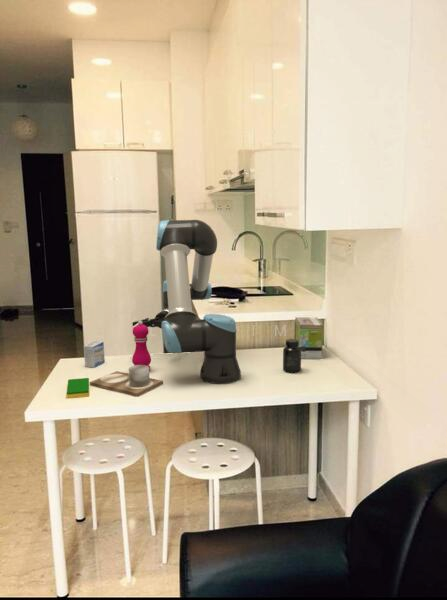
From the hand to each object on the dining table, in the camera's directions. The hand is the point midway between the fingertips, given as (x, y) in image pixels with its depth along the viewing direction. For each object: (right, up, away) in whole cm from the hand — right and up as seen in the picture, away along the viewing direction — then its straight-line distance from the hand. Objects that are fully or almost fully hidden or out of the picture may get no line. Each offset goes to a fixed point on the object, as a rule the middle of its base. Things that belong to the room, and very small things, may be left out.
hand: (149, 330), depth 204 cm
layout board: (-5, -18, -23) cm, 29 cm away
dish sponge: (-21, -20, -27) cm, 40 cm away
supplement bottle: (+56, -15, -9) cm, 59 cm away
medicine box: (-22, -14, +1) cm, 26 cm away
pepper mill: (-2, -15, -8) cm, 17 cm away
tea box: (+66, -11, +13) cm, 68 cm away
